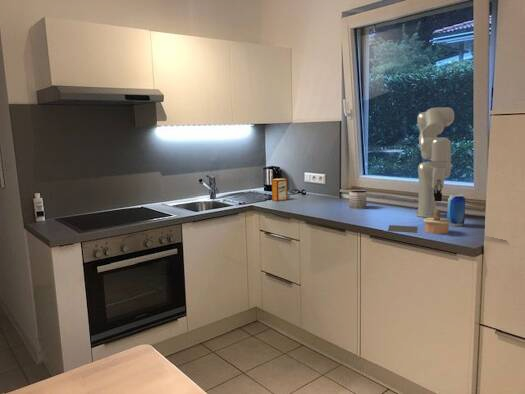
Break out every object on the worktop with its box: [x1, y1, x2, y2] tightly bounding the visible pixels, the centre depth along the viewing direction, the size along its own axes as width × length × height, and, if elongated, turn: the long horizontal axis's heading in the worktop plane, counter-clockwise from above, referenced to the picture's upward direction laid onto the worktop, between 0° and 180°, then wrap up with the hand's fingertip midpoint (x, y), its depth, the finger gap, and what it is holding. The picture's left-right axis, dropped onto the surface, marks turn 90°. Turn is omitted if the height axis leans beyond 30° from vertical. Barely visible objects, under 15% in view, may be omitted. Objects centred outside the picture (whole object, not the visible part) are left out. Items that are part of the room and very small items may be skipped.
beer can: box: [446, 193, 466, 227], centre depth 228 cm, size 8×8×16 cm
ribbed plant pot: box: [348, 189, 368, 210], centre depth 283 cm, size 11×11×12 cm
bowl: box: [424, 222, 450, 235], centre depth 214 cm, size 11×11×5 cm
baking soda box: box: [271, 177, 288, 203], centre depth 318 cm, size 10×6×16 cm
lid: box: [423, 209, 451, 224], centre depth 213 cm, size 12×12×6 cm
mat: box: [387, 224, 418, 234], centre depth 221 cm, size 14×14×1 cm
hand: (437, 199), depth 213 cm, fingers open, 9 cm apart
